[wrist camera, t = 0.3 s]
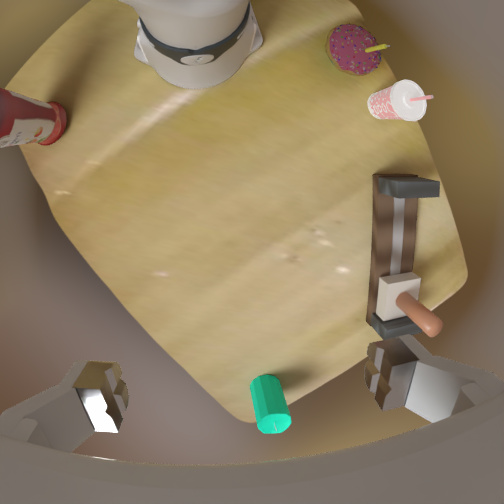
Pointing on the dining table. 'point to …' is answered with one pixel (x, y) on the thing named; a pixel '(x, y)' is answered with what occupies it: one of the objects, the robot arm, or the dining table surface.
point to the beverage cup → (399, 102)
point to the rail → (394, 240)
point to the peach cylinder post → (405, 302)
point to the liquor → (29, 120)
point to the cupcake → (353, 49)
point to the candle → (269, 404)
